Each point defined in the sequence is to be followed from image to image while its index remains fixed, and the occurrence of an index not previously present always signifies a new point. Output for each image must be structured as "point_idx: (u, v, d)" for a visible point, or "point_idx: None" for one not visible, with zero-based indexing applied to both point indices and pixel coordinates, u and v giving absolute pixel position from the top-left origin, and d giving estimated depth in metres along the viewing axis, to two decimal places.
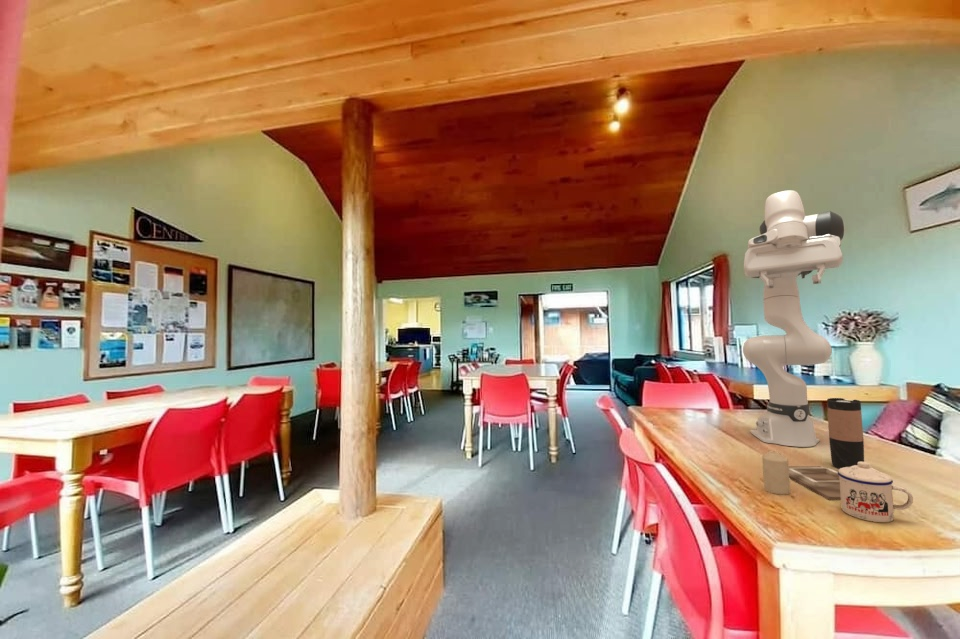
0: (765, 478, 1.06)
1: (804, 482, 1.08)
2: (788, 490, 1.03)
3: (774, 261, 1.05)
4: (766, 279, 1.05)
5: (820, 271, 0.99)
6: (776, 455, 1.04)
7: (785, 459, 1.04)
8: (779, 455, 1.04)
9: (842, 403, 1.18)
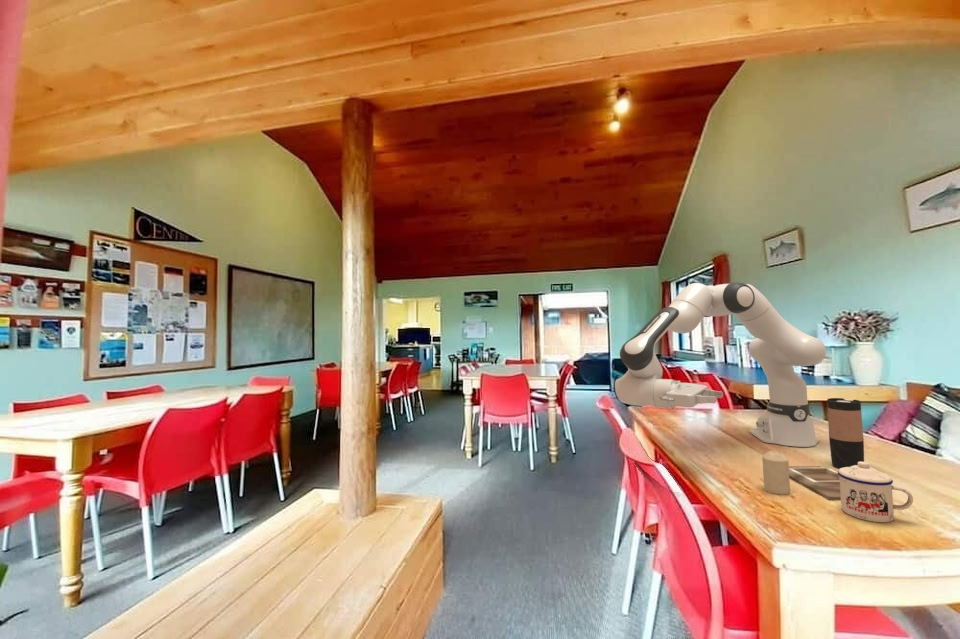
0: (765, 478, 1.06)
1: (804, 482, 1.08)
2: (788, 490, 1.03)
3: None
4: None
5: None
6: (776, 455, 1.04)
7: (785, 459, 1.04)
8: (779, 455, 1.04)
9: (842, 403, 1.18)
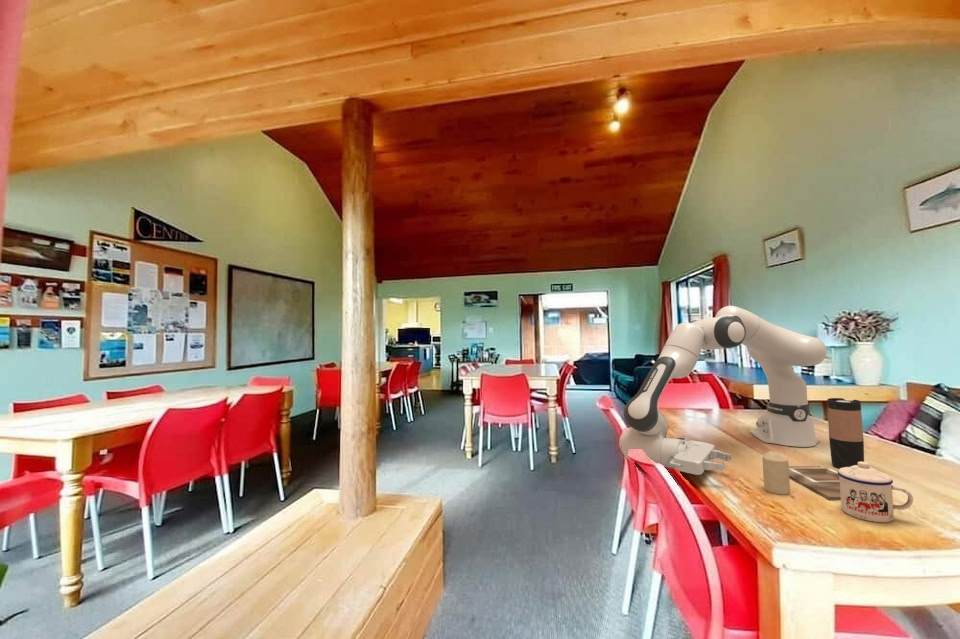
0: (765, 478, 1.06)
1: (804, 482, 1.08)
2: (788, 490, 1.03)
3: None
4: None
5: None
6: (776, 455, 1.04)
7: (785, 459, 1.04)
8: (779, 455, 1.04)
9: (842, 403, 1.18)
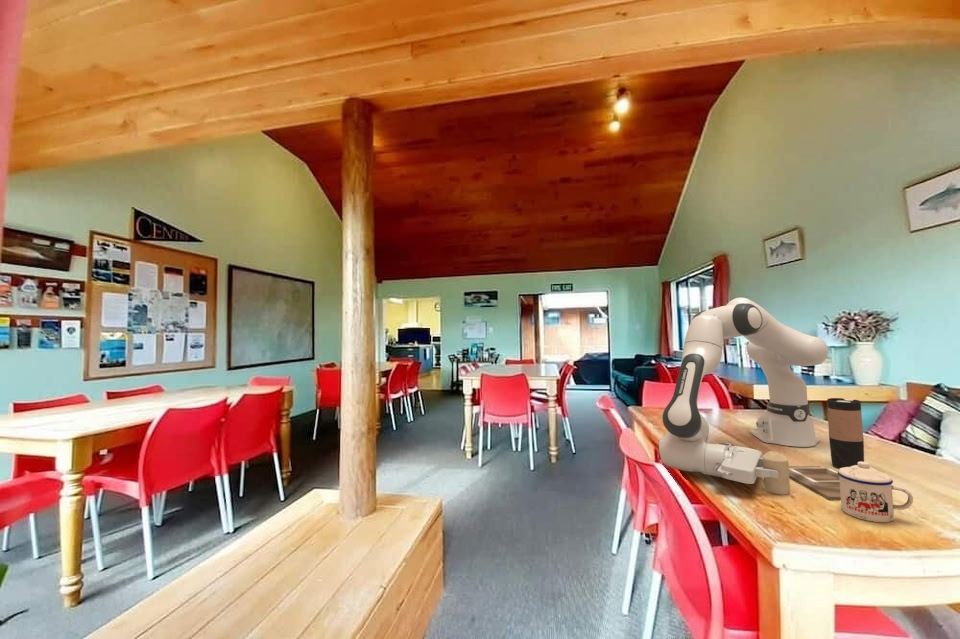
0: (765, 478, 1.06)
1: (804, 482, 1.08)
2: (788, 490, 1.03)
3: None
4: None
5: None
6: (776, 455, 1.04)
7: (785, 459, 1.04)
8: (779, 455, 1.04)
9: (842, 403, 1.18)
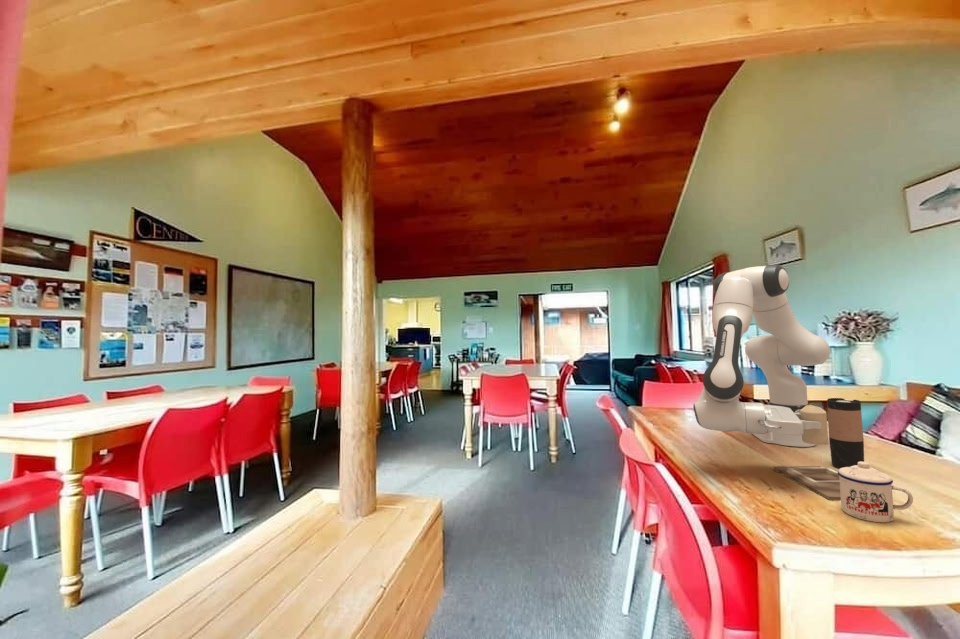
0: (805, 431, 1.10)
1: (804, 482, 1.08)
2: (827, 440, 1.08)
3: None
4: None
5: None
6: (816, 408, 1.09)
7: (824, 411, 1.09)
8: (819, 407, 1.09)
9: (842, 403, 1.18)
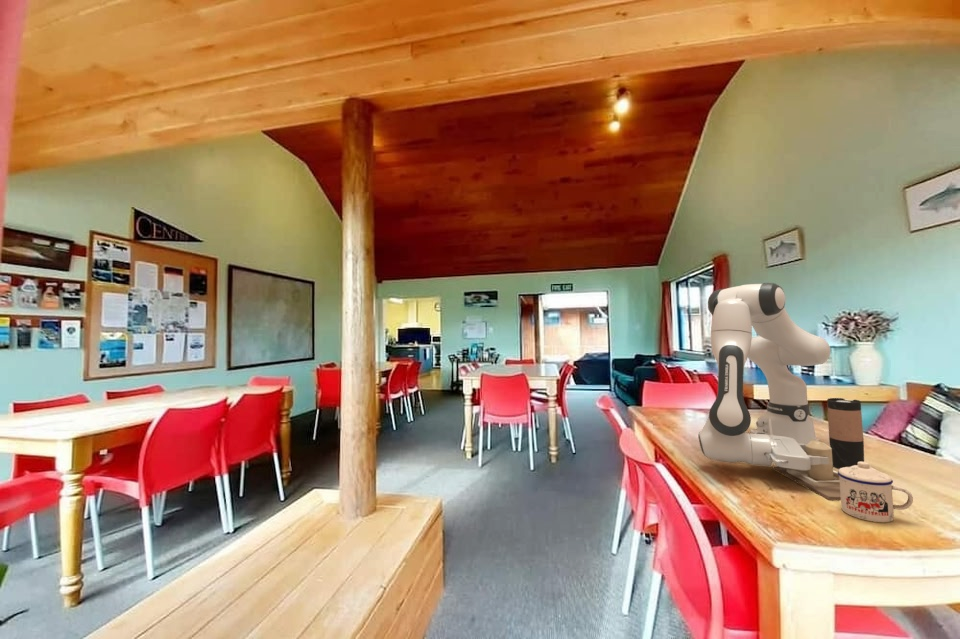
0: (811, 466, 1.10)
1: (804, 482, 1.08)
2: None
3: None
4: None
5: None
6: (821, 444, 1.09)
7: (829, 447, 1.09)
8: (824, 444, 1.09)
9: (842, 403, 1.18)
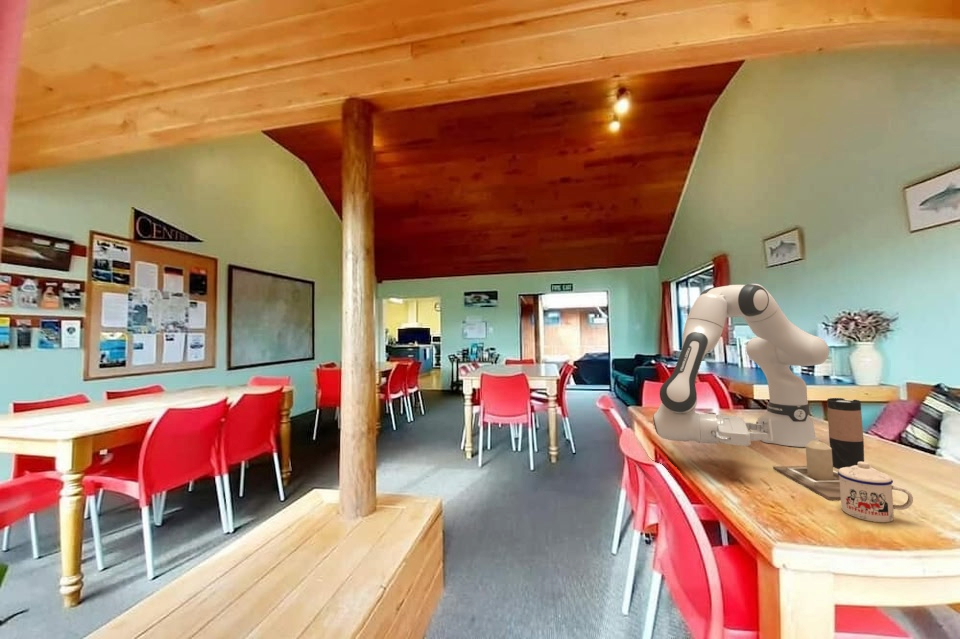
0: (811, 466, 1.10)
1: (804, 482, 1.08)
2: None
3: None
4: None
5: None
6: (821, 444, 1.09)
7: (829, 447, 1.09)
8: (824, 444, 1.09)
9: (842, 403, 1.18)
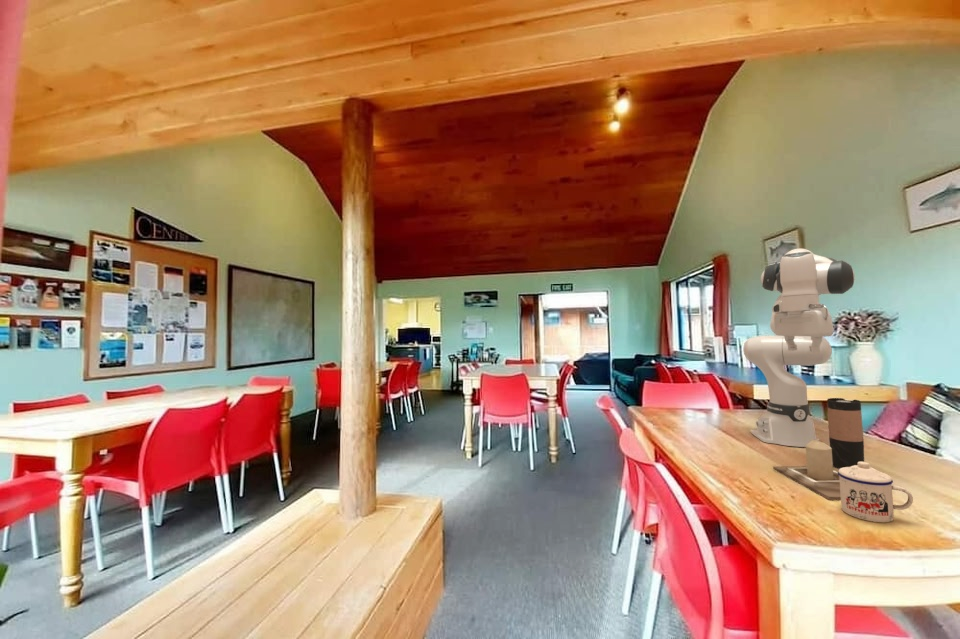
0: (811, 466, 1.10)
1: (804, 482, 1.08)
2: None
3: (788, 329, 1.24)
4: (787, 344, 1.26)
5: (812, 343, 1.15)
6: (821, 444, 1.09)
7: (829, 447, 1.09)
8: (824, 444, 1.09)
9: (842, 403, 1.18)
